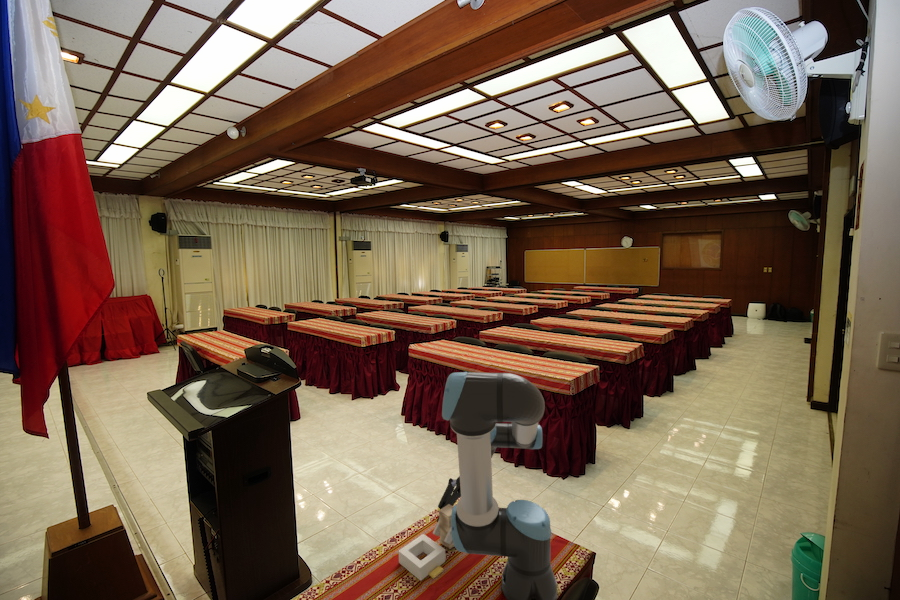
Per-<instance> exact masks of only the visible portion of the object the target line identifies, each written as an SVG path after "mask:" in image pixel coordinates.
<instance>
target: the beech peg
mask: <svg viewBox="0 0 900 600" xmlns="http://www.w3.org/2000/svg"><path fill="white" fill-rule="evenodd" d="M453 507H454V505H453V506H452V505H450V504H448V505H447V506H445V507H443V508H442V509H440V508H439V510H438V517H439V524H440V535H439V543H440V544H441V545H443V546H444V547H446V548H447V549H448V550H451V549H452V548H455V546H454V544H453V540H452V542H451V544H448V543H446V542H445V541H444V540H445V538H446V535H447V533H448V531H449V529H450V527H451V515H452V510H453Z"/></svg>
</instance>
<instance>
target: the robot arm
mask: <svg viewBox="0 0 900 600" xmlns="http://www.w3.org/2000/svg"><path fill="white" fill-rule="evenodd" d="M545 404H546V403H545V399H544V397H543V395H542V392H541V391H540V390H539V388H538V387H537V386H536V385H535V384H533V383H532V382H531V381H530V380H529V379H527V378H525V377H523V376H520V375H518V374H515V373H510V372H472V371H471V372H469V371H466V370H465V371H463V372H461V371H460V372H459V371H458V372H452V373H450V374H449V375H448V377H447V378H446V382H445V387H444V393H443V399H442V406H441V407H442V410H441V417H442V419H443V420H445V421H449V426H450V428H451V430H452V431H453V432H454V433H455V434H456V440H457V441H456V442H457V456H458V471H459V476H458V477H457V478H456V479H453V478H451V477H450V478H448V484H447V486H446V489H445V491H444V493H443V495H442V497H441V498H440V501H439V503H438V505H437V508H439V510H440V509H442V508H443V507H445V506H447V505H448V504H450V505H452V506H453V510H452V515H451V527H450V529H449V531H448V533H447V535H446V538H445V540H444V541H445V542H446V543H448V544H451V542H452V540H453V544H454V548H455V549H456V550H457V552H459V553H466V554H469V555H483V556H495V557H505V558H507V561H506V564H505V565H504V569H503V571H502V575H501V590H502V593H503V595H504V597H505V599H506V600H557V598H558V582H557V578H556V576H555V574H554V571H553V567H552V563H551V562H552V560H551V557H552V556H551V555H552V554H551V536H552V529H551V520H550V516H549V514H548V513H547V511H546V510H545V509H544V507H541V506H540V505H539V504H538V503H536V502H533V501H531V500H528V499H516V500H514V501H513V500H512V501H511V502H509V503H508V505H507V507H500V506H499V503H498V501H497V499H496V498H495V497H493V496H494V495H493V494H494V493H493V468H492V459H493V456H494V454H495V452H496V450H497V448H502V449H503V448H505V449H506V448H511V449H525V450H540V449H542V447H543V428H542V426H541V425H540V424H539V422H540V421H541V420H542V418H543V416H544V415H545V408H546V406H545ZM457 500H458V501H457ZM456 502H457V503H456ZM455 503H456V504H455ZM436 522H437V523H436V524H435V527H434V529H433V531H432V534H433V535H435V536H437V537H438V538H440V524H439V516H438V517H437V519H436Z"/></svg>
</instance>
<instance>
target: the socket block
mask: <svg viewBox="0 0 900 600" xmlns="http://www.w3.org/2000/svg"><path fill="white" fill-rule="evenodd" d="M422 553H424V554H426V556H425V557H424V558H422V559H419V558H418V556H419V555H421V554H422ZM445 562H446V548H444V547H443V546H441V545H440V544H439V543H437V542H436V541H434V540H433V539H431V538H430V537H429V536H427V535H426V534H424V533H422V534H421V535H419V536H418V537H417V538H415V539H414V540H412V541H410V542H409V543H407V544H406V545H405V546H403V547H402V548H400V549H399V550H398V563H399V564H400V565H401V566H402V567H403V568H404V569H406V570H407V571H408V572H409V573H411V574H412V575H413V576H414V577H416V578H417V579H418V580H419V581H420V582H421V581H422V580H424V579H425V578H427V577H430V578H431V579H435V578H436V577H438V576H440V574H441V573H443V572H444V571H445V570H444V568H443V567H441V566H442V565H443V564H445Z"/></svg>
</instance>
